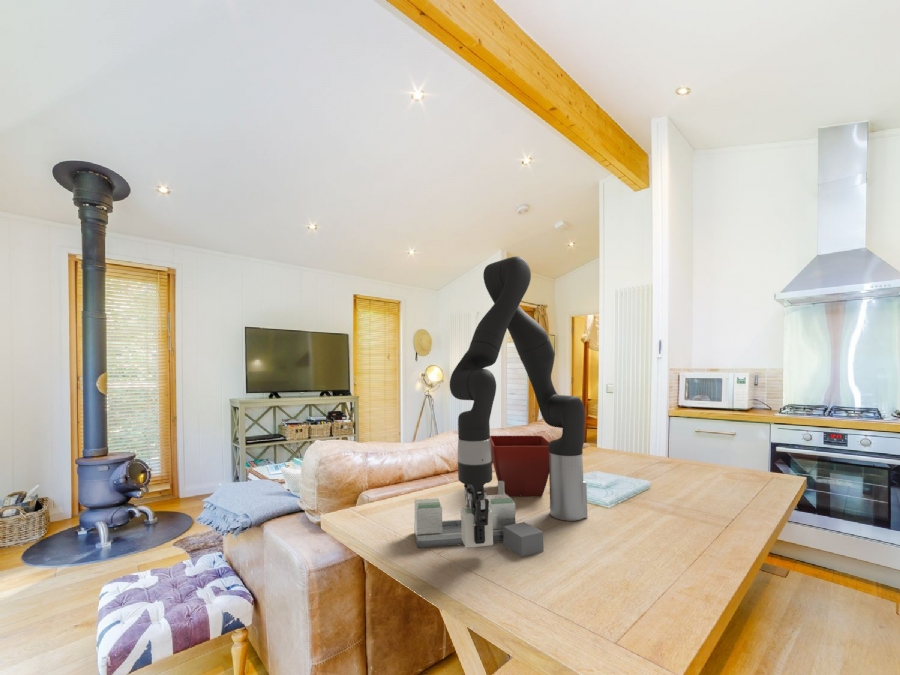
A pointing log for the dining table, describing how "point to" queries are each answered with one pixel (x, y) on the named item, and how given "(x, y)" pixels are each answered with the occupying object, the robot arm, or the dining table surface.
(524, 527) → the block
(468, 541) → the block
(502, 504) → the rail board
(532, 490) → the plant pot
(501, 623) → the dining table surface
